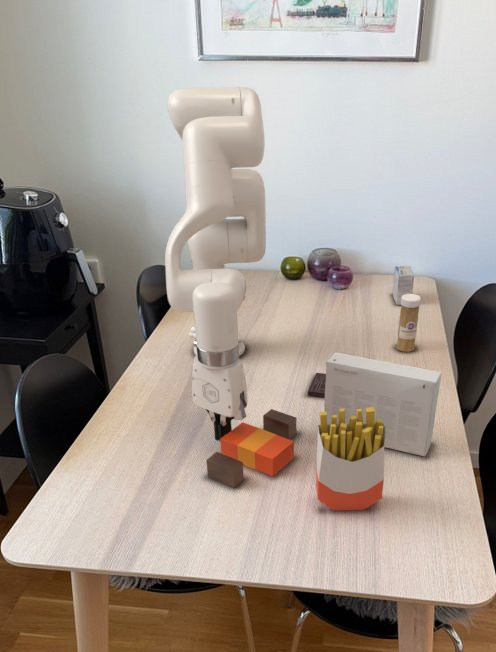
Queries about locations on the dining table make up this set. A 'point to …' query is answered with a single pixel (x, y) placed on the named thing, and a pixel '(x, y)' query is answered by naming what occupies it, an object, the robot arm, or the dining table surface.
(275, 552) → the dining table surface
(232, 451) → the orange packet
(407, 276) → the medicine box
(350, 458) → the french fries container
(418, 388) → the skincare box
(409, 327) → the sprinkles bottle
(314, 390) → the chocolate bar
